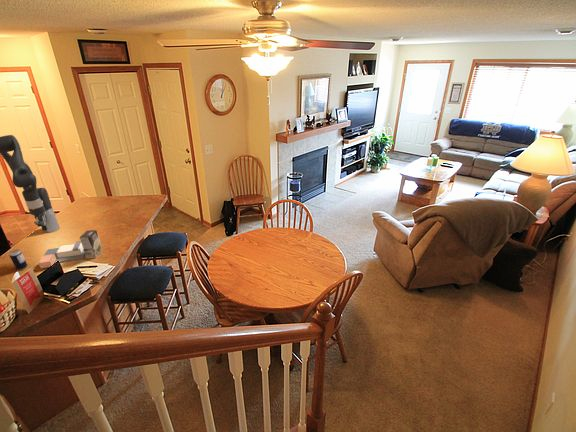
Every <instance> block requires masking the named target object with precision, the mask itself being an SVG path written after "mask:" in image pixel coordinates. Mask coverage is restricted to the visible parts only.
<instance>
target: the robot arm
mask: <svg viewBox="0 0 576 432" xmlns="http://www.w3.org/2000/svg"><path fill="white" fill-rule="evenodd" d="M10 152H12V155H11V154H10ZM0 155H1V157H2V158H3V159H4V160H5V162H6V163H7V165H8V167H9V169H10V171H11V172H12V183H13V185H14V187H16V188H18V189H19V188H22V189H23V190H22V191H21V194H22V198H23V199H24V201H25V204H26V208H27V210H28V212H29V214H30V215H31V216H34V220H35V221H34V222H33V223H34V224H35V225H36V226H38V227H41V229H42V231H43V232H46V233H54V232H56V231H58V230H59V229H60V225H59V222H58V219H57V217H56V214H55V211H54V209H53V207H52V206H53V205H52V203H51V202H52V201H51V200H50V196H49V192H48V191H47V189H46V188H45V187H37V186H38V185H37V183H38V182H37V177H36V175H35V174H34V173H33V171H32V169H31V167H30V166H29V164H28V163H26V162H25V160H24V157H23V151H22V149H21V145H20V143H19V141H18V139H17V137H16V136H14V135H13V134H8V135H7V134H6V135H3V136H0Z"/></svg>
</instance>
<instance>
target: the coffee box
mask: <svg viewBox="0 0 576 432" xmlns="http://www.w3.org/2000/svg"><path fill="white" fill-rule="evenodd" d="M79 241H81V243H82V246H83V249H84V252H85V257H86V259H96V258H97V257H98V256H99V255H100V254H101V253H102V252H103V247H102V244H101V240H100V237H99V234H98V231H97V230H96V229H91V230H90V229H89V230H86V231H85V232H83V234H82V235H80V237H79Z"/></svg>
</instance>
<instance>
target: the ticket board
mask: <svg viewBox="0 0 576 432" xmlns="http://www.w3.org/2000/svg"><path fill="white" fill-rule="evenodd" d="M51 254H54V255H55V257H56V261H60V263H59V264H61V263H68V262H73V261H79V260H80V261H81V260H84V258H85V257H86V255H85V252H84V249H83V246H82V243H81V240H78V241H76V242H75V243H73V244H66V245H59V247H54V248H49V249H47V250H46V252H45V254H44V255H43V256H45V255H51ZM56 261H55V262H56ZM38 266H39V267H40V265H39V264H38Z"/></svg>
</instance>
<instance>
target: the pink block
mask: <svg viewBox="0 0 576 432" xmlns="http://www.w3.org/2000/svg"><path fill="white" fill-rule="evenodd" d="M44 255H45V254H44ZM44 255H42V257H41V258H40V260H39V261H38V266H39V265H40V266H39V267H40V269H46V268H50V266H52V265H53V264H54V263H55V261H56V257H55V255H54V254H51V255H45V256H44ZM55 264H56V263H55ZM55 264H54V265H55ZM54 265H53V266H54ZM53 266H52V267H53Z"/></svg>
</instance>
